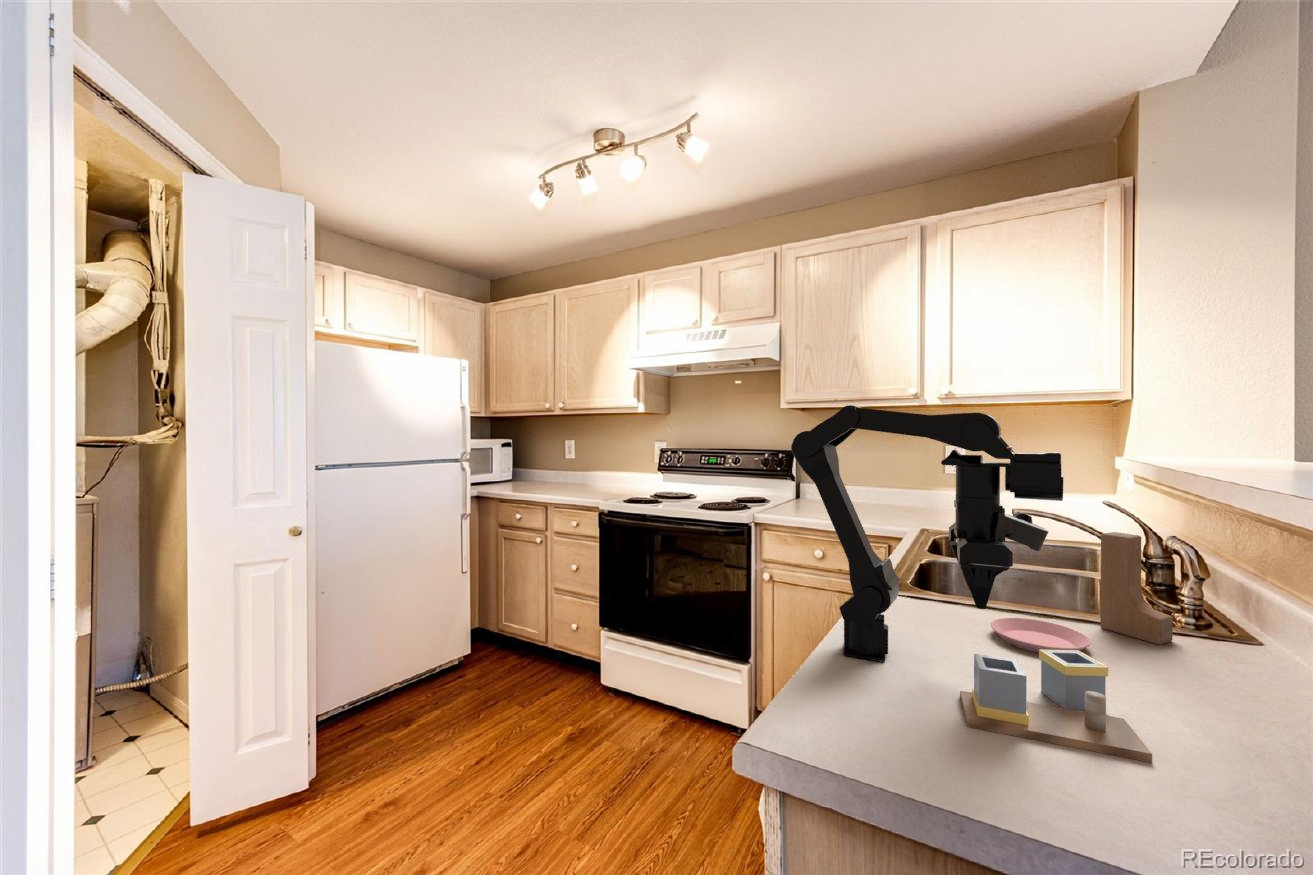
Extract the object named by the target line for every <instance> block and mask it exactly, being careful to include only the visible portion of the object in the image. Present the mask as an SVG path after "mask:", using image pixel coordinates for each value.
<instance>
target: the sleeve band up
mask: <svg viewBox="0 0 1313 875" xmlns="http://www.w3.org/2000/svg"><path fill="white" fill-rule="evenodd" d="M1038 658H1039V659H1040V660H1041V662H1040V667H1041V668H1040V670H1041V672H1040V674H1041V675H1040V682H1041V683H1040V692H1041V693H1042V694H1043V695H1045V696H1046V697H1047V698H1049V699H1050V700H1051V701H1053V703H1055V704H1057V705H1058V707H1060V708H1065V709H1071V710H1077V711H1083V712H1085V692H1086V691H1093V692H1097V693H1100V694H1102V695H1104V696H1105V697H1106V685H1107V684H1106V682H1107V681H1106V677H1109V666H1106V665H1105V664H1103V663H1101V662H1100V661H1098V660H1097V659H1094V658H1093V657H1091V656H1089V655H1087V654H1086V653H1084V652H1082V651H1078V650H1039V653H1038Z"/></svg>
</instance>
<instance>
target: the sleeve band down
mask: <svg viewBox="0 0 1313 875" xmlns="http://www.w3.org/2000/svg"><path fill="white" fill-rule="evenodd" d="M971 692H972V698H973V701H974V705H975V708H976V711H977V715H978V716H981V717H987V718H992V719H997V720H1003V721H1008V722H1013V723H1019V724H1024V725H1029V715H1028V713H1027V711H1026V702H1027V674H1026V672H1025V670H1024V668H1023V667H1022V665H1021V664H1020V662H1019V659H1012V658H1008V657H1001V656H1000V657H999V656H994V655H993V656H992V655H988V654H987V655H985V654H981V653H980V654H979V653H973V687H972V688H971Z"/></svg>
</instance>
